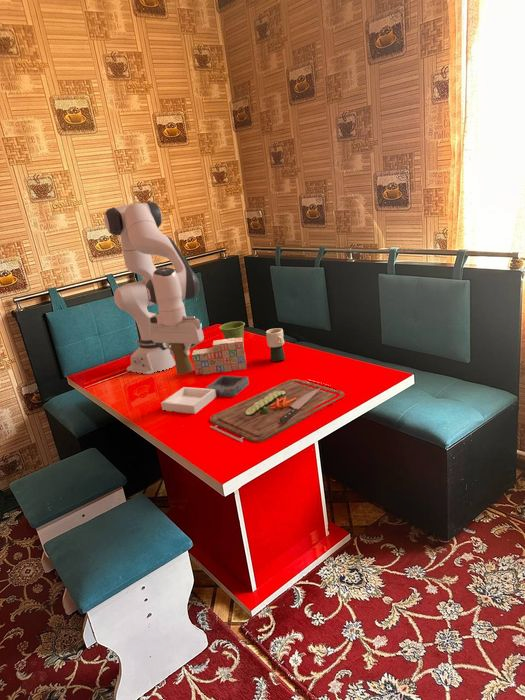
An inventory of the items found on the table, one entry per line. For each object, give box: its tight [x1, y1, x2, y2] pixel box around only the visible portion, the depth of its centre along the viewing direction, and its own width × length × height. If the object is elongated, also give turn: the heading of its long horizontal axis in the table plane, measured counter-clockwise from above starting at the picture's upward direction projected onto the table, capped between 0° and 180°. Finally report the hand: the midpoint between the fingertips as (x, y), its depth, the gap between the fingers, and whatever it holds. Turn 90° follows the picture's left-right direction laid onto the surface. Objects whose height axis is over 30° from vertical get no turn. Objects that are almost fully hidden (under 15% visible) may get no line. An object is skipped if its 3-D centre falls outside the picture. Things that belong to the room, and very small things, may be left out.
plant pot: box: [219, 321, 246, 345], centre depth 236 cm, size 12×12×11 cm
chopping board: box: [209, 378, 345, 443], centre depth 169 cm, size 45×27×3 cm, turn 131°
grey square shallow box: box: [205, 375, 250, 398], centre depth 190 cm, size 12×12×3 cm
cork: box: [171, 343, 195, 375], centre depth 176 cm, size 6×6×11 cm
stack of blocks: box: [191, 336, 247, 376], centre depth 210 cm, size 21×6×12 cm, turn 92°
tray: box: [160, 386, 217, 415], centre depth 182 cm, size 14×14×3 cm
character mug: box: [265, 327, 286, 362], centre depth 212 cm, size 11×7×13 cm, turn 27°
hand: (180, 354), depth 177 cm, fingers closed on cork, 4 cm apart
